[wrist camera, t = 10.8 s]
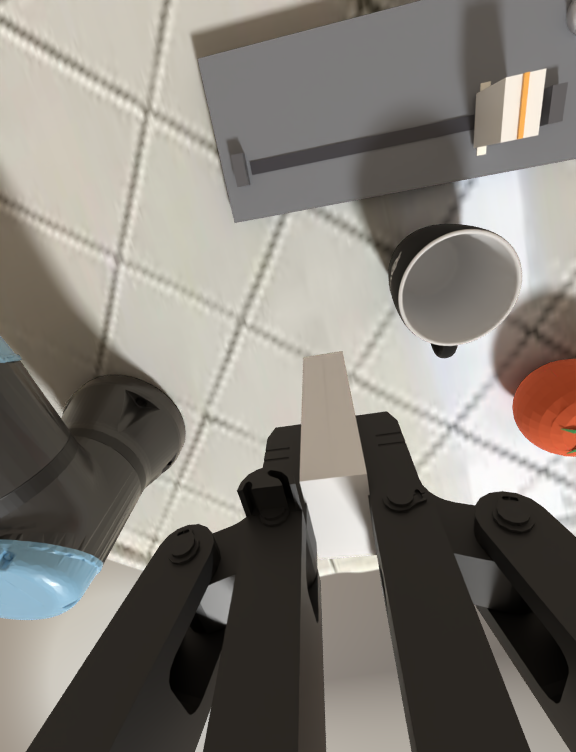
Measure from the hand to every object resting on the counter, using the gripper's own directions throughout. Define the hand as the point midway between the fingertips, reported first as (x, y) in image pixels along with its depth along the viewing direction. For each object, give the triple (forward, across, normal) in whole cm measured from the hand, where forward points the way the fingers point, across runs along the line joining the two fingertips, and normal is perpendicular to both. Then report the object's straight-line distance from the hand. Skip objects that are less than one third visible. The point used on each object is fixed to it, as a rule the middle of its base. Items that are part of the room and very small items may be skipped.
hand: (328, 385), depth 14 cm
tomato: (+25, +23, -18) cm, 39 cm away
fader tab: (+23, +15, +9) cm, 29 cm away
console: (+25, +9, +11) cm, 29 cm away
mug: (+26, +10, -4) cm, 28 cm away
